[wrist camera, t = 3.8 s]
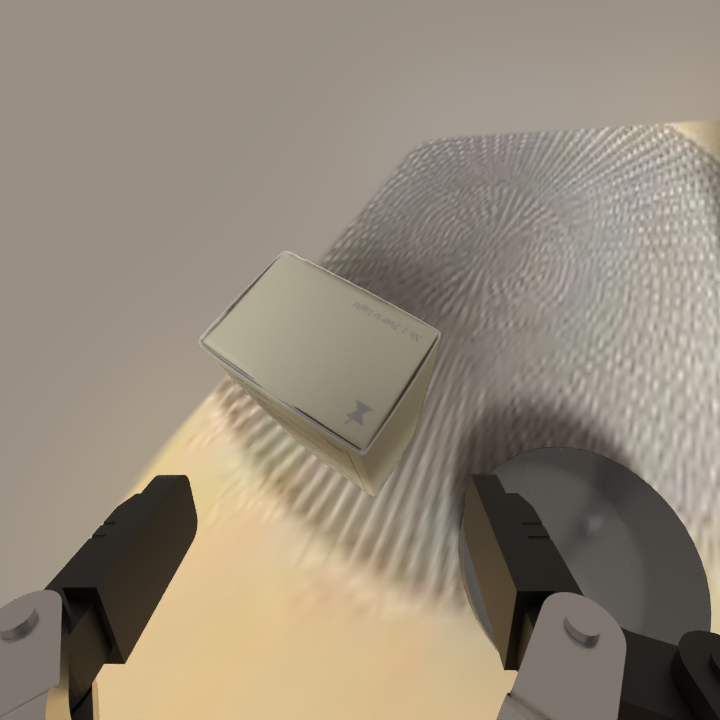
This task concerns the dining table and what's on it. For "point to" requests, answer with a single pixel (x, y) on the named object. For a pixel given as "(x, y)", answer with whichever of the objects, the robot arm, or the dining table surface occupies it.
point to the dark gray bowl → (608, 542)
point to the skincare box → (328, 365)
